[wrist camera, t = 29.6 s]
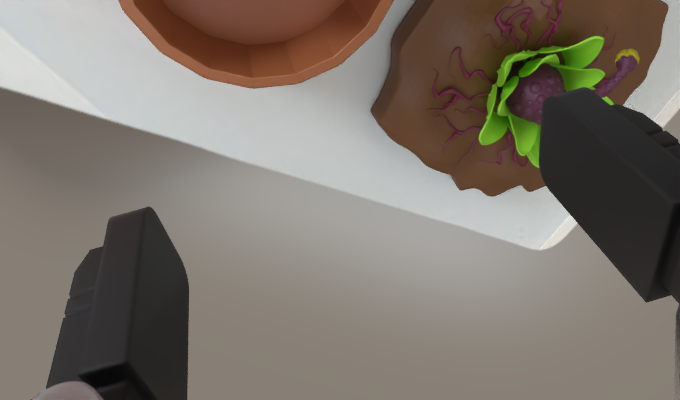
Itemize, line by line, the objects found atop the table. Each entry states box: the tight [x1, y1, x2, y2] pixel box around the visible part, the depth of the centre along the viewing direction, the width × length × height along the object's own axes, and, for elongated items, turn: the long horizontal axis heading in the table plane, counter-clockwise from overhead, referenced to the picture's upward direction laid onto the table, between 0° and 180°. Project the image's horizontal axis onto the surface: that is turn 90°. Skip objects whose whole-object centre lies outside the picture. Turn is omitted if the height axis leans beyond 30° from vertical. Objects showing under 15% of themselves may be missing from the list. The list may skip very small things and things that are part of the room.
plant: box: [371, 0, 668, 196], centre depth 36 cm, size 20×20×11 cm
